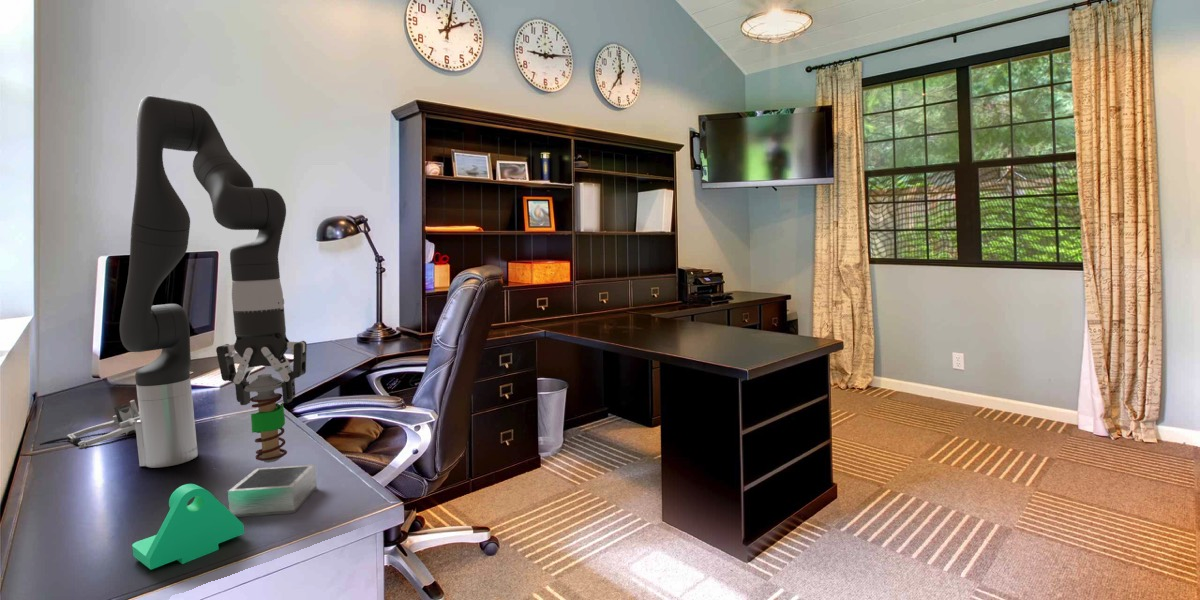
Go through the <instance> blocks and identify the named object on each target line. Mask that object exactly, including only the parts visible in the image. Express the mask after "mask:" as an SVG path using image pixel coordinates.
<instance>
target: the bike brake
mask: <svg viewBox="0 0 1200 600" xmlns="http://www.w3.org/2000/svg"><path fill="white" fill-rule="evenodd" d="M129 403H130V405H129V406H128V405H127V403H125V404H121V405H118V406H115V407H113V409H114V413H115V415H113V416H112V420H110V421H107V422H103V423H99V424H97V425H93V426H90V427H86V428H83V429H80V430H78V431H74V432H73V433H69V434H67V435H66V437H60V438H56V439H52V440H47V441H44V442H41V443H40V442H39V445H40V446H42V445H47V444H51V443H55V442H60V441H67V440H68V441H70V442H71V443H72V444H74V445H77V446H78V448H79V449H85V448H88V446H91V445H95V444H98V443H102V442H104V441H107V440H110V439H112V438H115V437H118V436H120V435H123V434H125V435H126V436H127V435H131V434H134V433H135V434H136V427H135V422H136V421H138V420H140V415H139V408H138V407H137V404H136V400H135V399H132V400H130V401H129ZM116 426H119V428H117V429H115V430H113V431H111V432H108V433H106V434H104V435H100V436H97V437H95V438H91V439H87V440H81V438H78V437H81V436H83V435H86V434H89V433H93V432H96V431H99V430H104V429H108V428H113V427H116Z"/></svg>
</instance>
